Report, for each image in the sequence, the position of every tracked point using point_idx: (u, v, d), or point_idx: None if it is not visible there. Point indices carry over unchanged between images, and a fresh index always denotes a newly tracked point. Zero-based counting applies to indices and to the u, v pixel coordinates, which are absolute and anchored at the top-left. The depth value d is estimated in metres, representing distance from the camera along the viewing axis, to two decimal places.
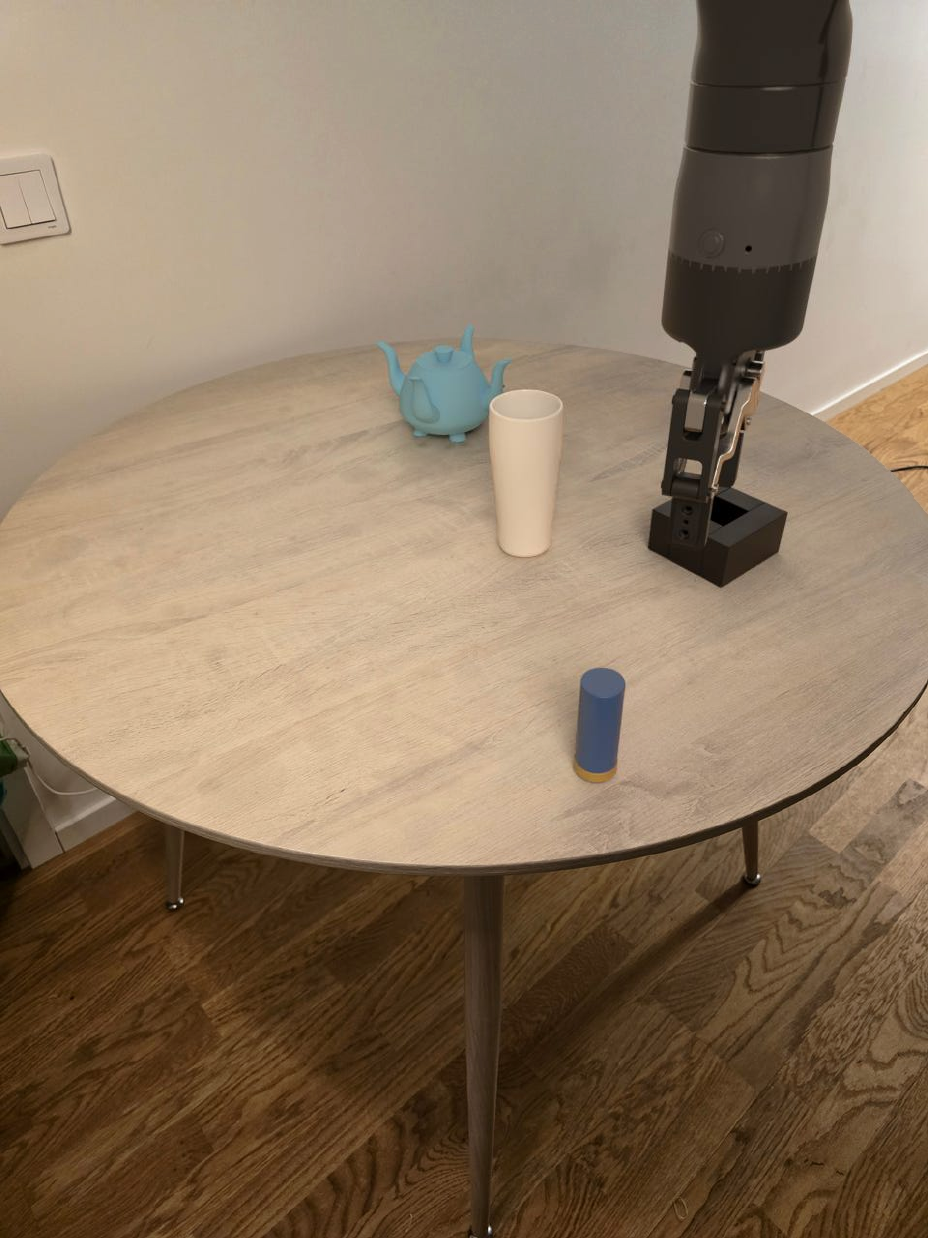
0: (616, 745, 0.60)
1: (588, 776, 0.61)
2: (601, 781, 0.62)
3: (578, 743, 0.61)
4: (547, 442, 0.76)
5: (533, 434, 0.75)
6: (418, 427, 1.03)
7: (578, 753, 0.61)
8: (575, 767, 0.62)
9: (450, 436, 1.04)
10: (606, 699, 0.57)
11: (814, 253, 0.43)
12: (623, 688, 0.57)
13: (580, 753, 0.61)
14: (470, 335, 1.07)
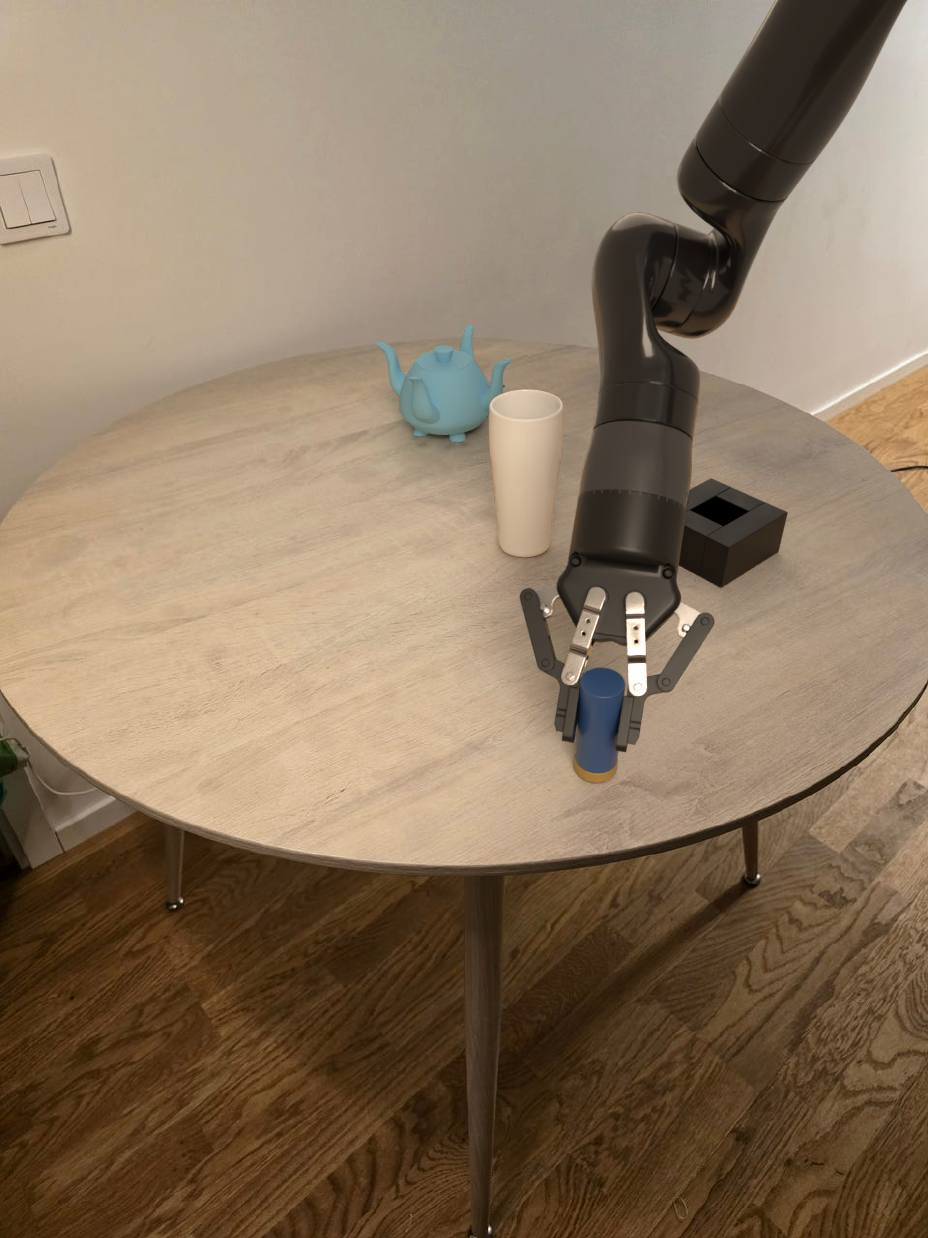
0: None
1: (588, 776, 0.61)
2: (601, 781, 0.62)
3: (578, 743, 0.61)
4: (547, 442, 0.76)
5: (533, 434, 0.75)
6: (418, 427, 1.03)
7: (578, 753, 0.61)
8: (575, 767, 0.62)
9: (450, 436, 1.04)
10: (605, 699, 0.57)
11: (619, 487, 0.57)
12: (623, 688, 0.57)
13: (580, 753, 0.61)
14: (470, 335, 1.07)
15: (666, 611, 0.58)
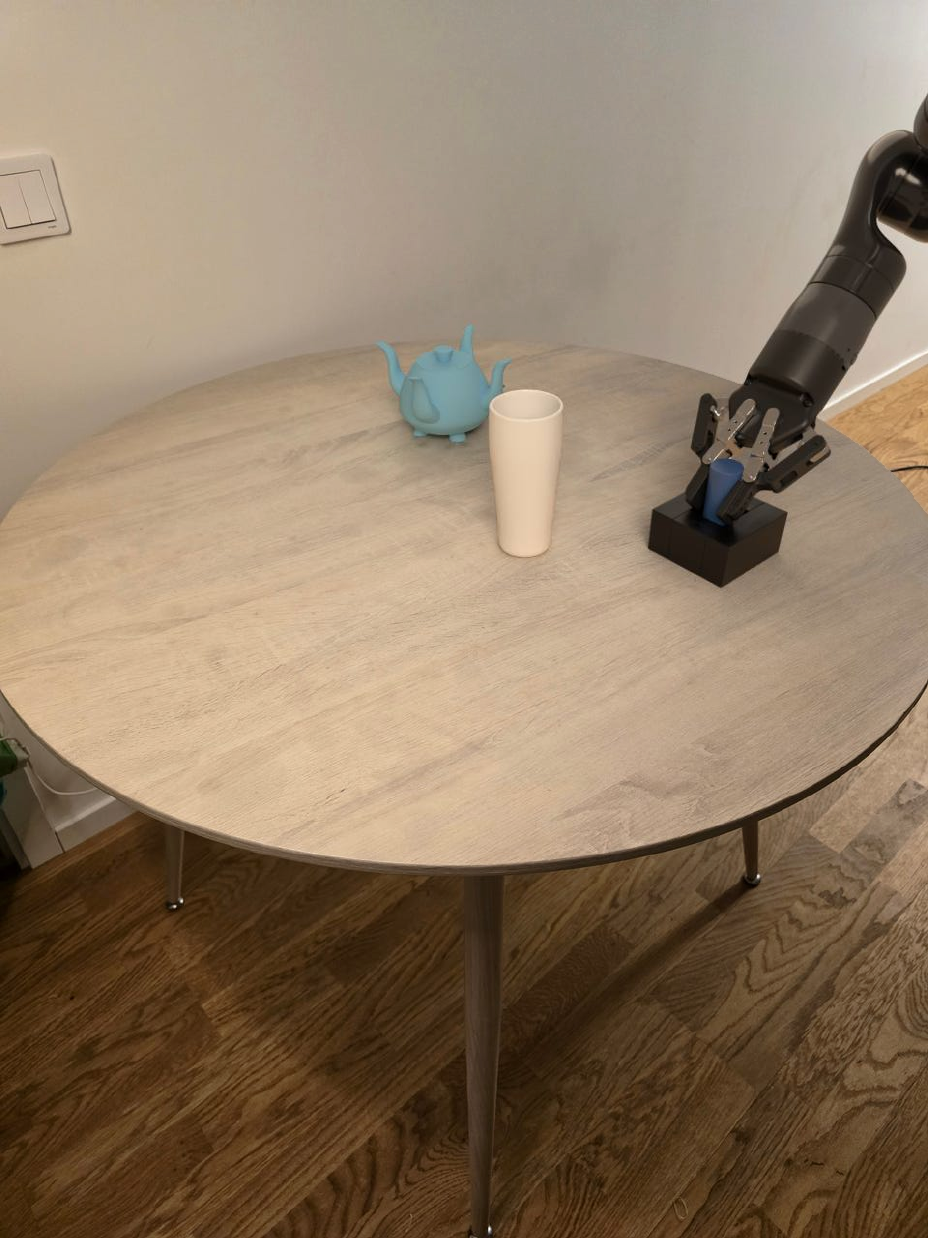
0: None
1: None
2: None
3: (702, 514, 0.82)
4: (547, 442, 0.76)
5: (533, 434, 0.75)
6: (418, 427, 1.03)
7: None
8: None
9: (450, 436, 1.04)
10: (721, 474, 0.78)
11: (792, 328, 0.76)
12: (738, 472, 0.78)
13: None
14: (470, 335, 1.07)
15: (794, 429, 0.76)
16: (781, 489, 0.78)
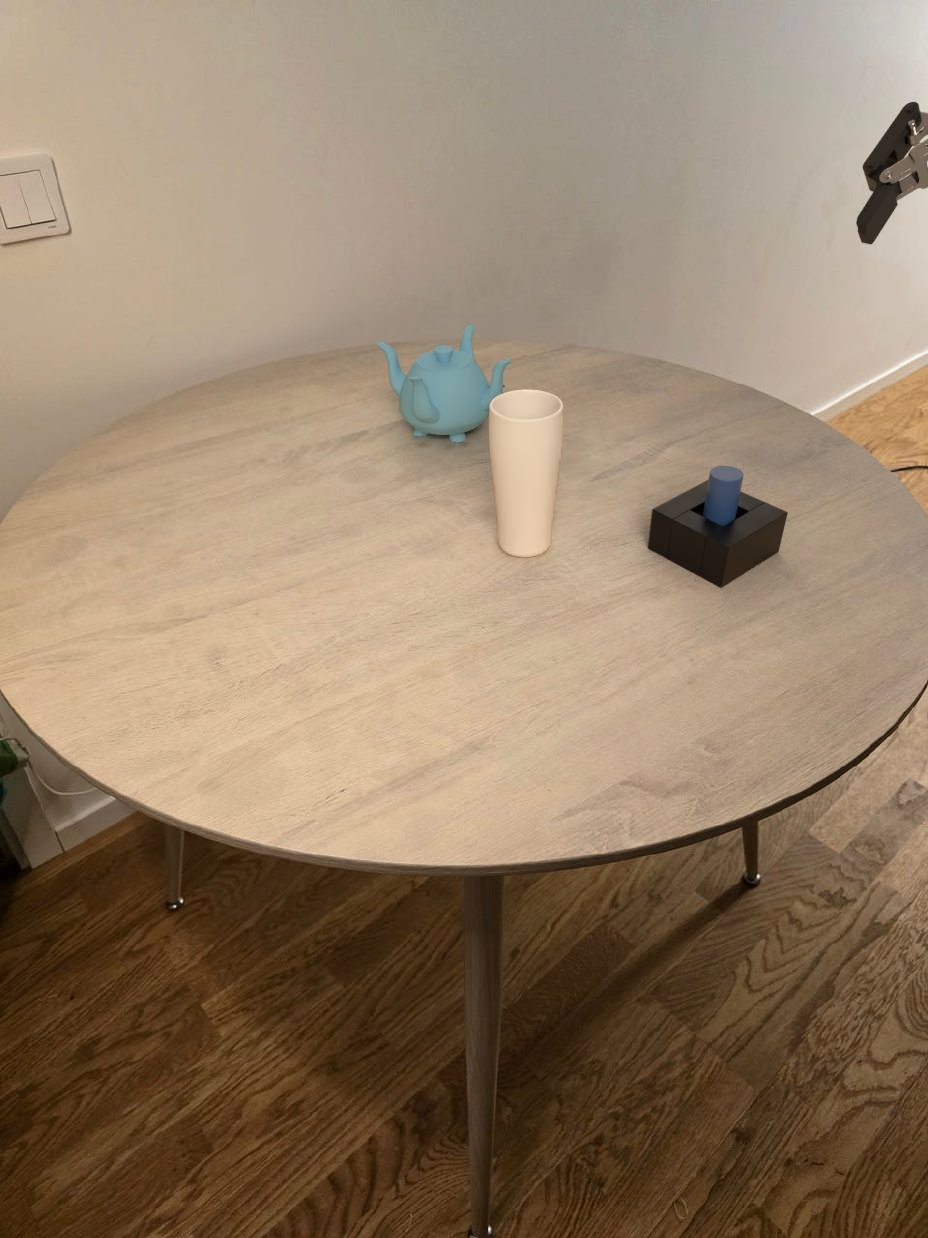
0: None
1: None
2: None
3: None
4: (547, 442, 0.76)
5: (533, 434, 0.75)
6: (418, 427, 1.03)
7: None
8: None
9: (450, 436, 1.04)
10: (720, 482, 0.78)
11: None
12: (737, 479, 0.78)
13: None
14: (470, 335, 1.07)
15: None
16: None
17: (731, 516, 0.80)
